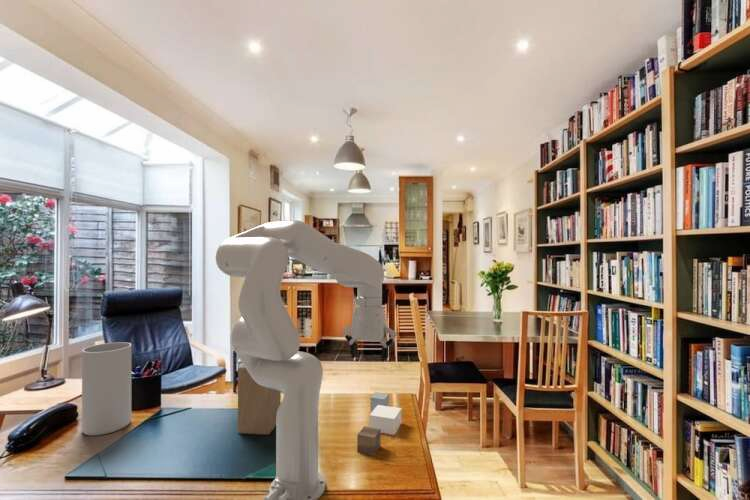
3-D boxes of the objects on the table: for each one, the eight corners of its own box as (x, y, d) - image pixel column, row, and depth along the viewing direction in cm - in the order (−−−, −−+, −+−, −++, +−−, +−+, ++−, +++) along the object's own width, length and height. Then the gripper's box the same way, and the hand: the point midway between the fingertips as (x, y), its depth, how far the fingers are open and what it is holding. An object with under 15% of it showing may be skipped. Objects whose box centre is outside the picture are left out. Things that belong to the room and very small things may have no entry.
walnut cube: (374, 456, 98) (374, 437, 98) (357, 452, 99) (357, 434, 99) (380, 447, 102) (380, 429, 102) (364, 443, 104) (364, 426, 104)
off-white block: (394, 435, 109) (394, 418, 109) (369, 431, 112) (369, 415, 112) (401, 423, 116) (401, 408, 116) (377, 420, 119) (377, 404, 119)
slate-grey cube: (384, 414, 123) (384, 399, 123) (370, 411, 125) (370, 397, 125) (388, 408, 128) (388, 394, 128) (375, 406, 130) (375, 392, 130)
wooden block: (281, 420, 119) (281, 358, 119) (269, 435, 109) (269, 368, 109) (251, 418, 120) (251, 358, 120) (237, 433, 110) (237, 367, 110)
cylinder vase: (112, 436, 108) (112, 352, 108) (70, 436, 108) (71, 352, 108) (140, 417, 120) (140, 342, 120) (103, 417, 121) (103, 342, 121)
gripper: (338, 302, 110) (338, 359, 110) (393, 305, 104) (392, 365, 104) (348, 299, 117) (348, 353, 117) (400, 302, 111) (399, 358, 111)
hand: (369, 358), depth 110 cm, fingers open, 9 cm apart
